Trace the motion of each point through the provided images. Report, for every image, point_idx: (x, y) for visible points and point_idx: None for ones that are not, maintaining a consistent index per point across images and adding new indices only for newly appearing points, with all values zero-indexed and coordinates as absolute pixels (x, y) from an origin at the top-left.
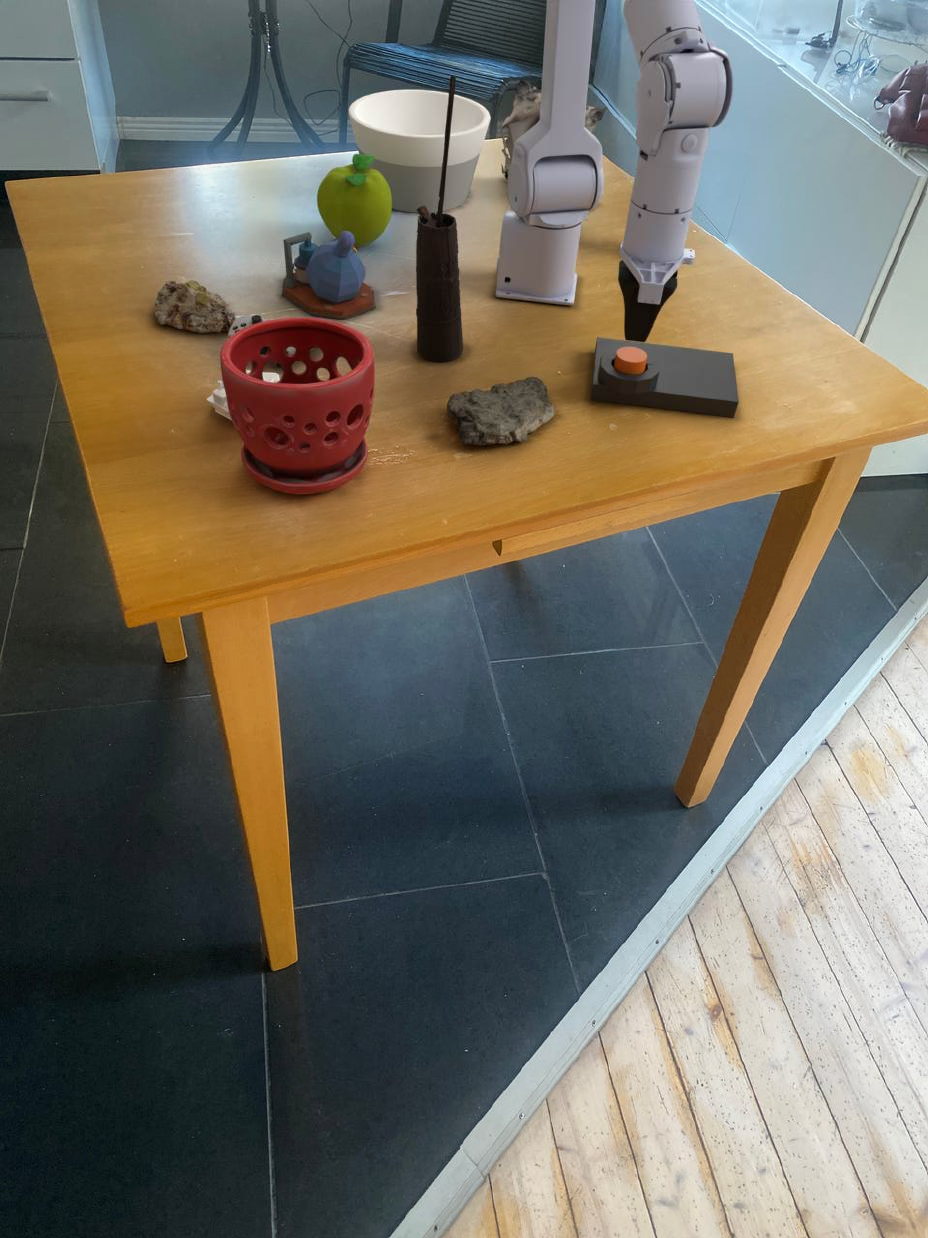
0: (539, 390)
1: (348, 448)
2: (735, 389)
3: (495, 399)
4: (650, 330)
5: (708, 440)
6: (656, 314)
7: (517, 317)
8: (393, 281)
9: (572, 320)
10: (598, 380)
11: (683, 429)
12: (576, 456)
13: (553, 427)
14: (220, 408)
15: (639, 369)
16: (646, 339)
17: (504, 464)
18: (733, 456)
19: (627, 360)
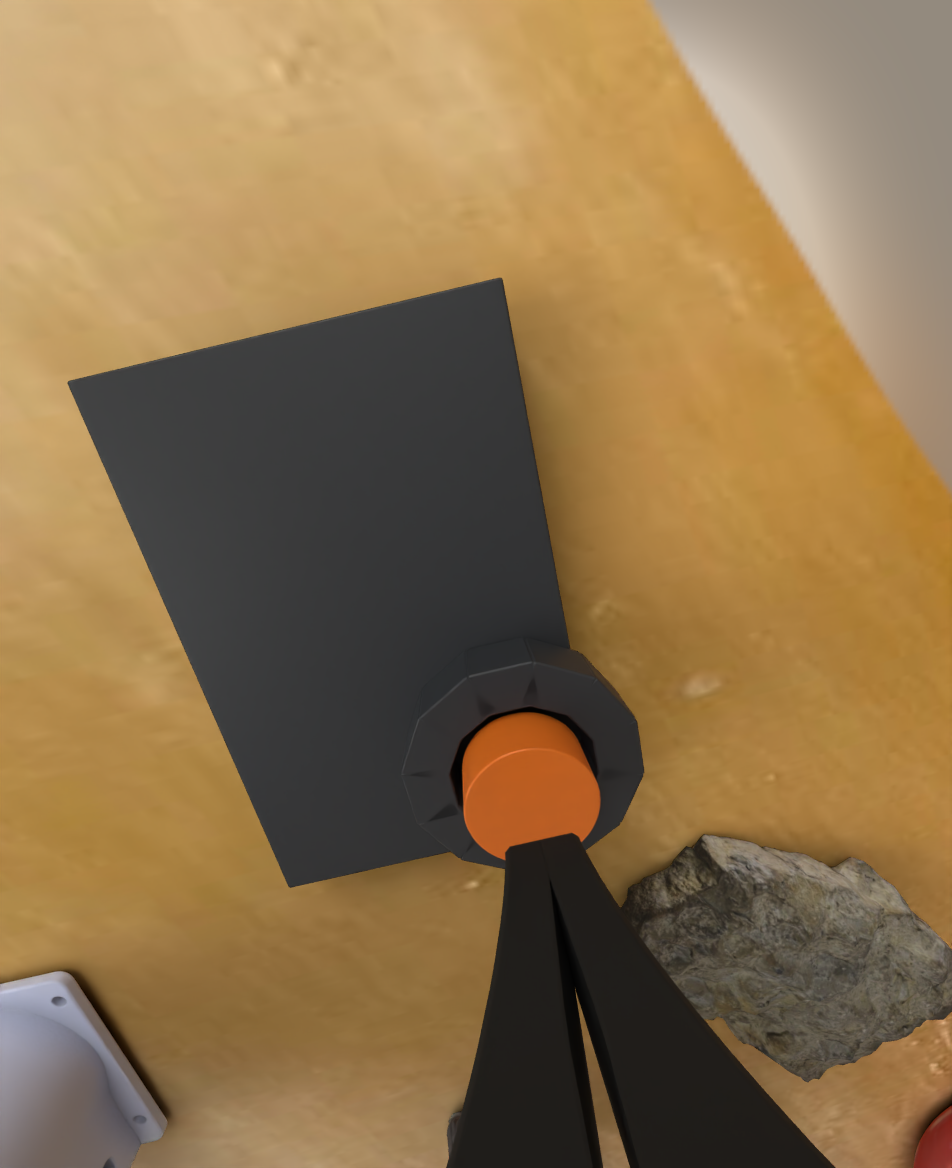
0: (700, 929)
1: None
2: (399, 310)
3: (831, 1013)
4: (603, 886)
5: (682, 377)
6: (705, 1025)
7: (238, 1049)
8: None
9: (154, 940)
10: None
11: (642, 478)
12: (874, 731)
13: (753, 817)
14: None
15: (571, 738)
16: (577, 840)
17: (941, 861)
18: (758, 261)
19: (594, 810)
